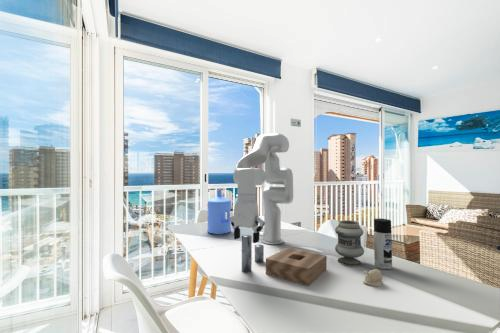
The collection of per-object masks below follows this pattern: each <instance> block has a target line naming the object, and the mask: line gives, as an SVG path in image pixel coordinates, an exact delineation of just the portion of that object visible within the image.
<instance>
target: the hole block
mask: <svg viewBox="0 0 500 333" xmlns="http://www.w3.org/2000/svg"><path fill="white" fill-rule="evenodd" d="M326 271H327V255H325V254H321V253H315V252H312V251H306V250H301V249H296V248H291V247H285V248H284V249H282V250H279V251H278V252H275V253H274V254H272V255H270V256H268V257H266V258H265V274H266V275H269V276H272V277H276V278H279V279H283V280H286V281H290V282H293V283H297V284H300V285H304V286H307V287H309V286H310V285H311V284H313V283H314V282H315V281H316V280H317V279H318V278H319V277H320V276H321V275H323V274H324V273H326Z"/></svg>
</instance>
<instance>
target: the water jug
mask: <svg viewBox="0 0 500 333" xmlns="http://www.w3.org/2000/svg"><path fill="white" fill-rule="evenodd" d="M222 193H223V192H222V189H216V196H214V197H212V198H211V199H209V200H207V204H206V205H207V218H206V219H207V230H206V231H207V233H208V232H209V234H210V233H215V234H214V235H224V234H223V233H226V234H229V233H231V231H232V225H231V222H230V217H231V210H232V202H231V199H228V198H227V197H224V196H223V195H222ZM228 232H229V233H228Z"/></svg>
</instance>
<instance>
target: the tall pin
mask: <svg viewBox="0 0 500 333" xmlns="http://www.w3.org/2000/svg"><path fill="white" fill-rule="evenodd" d="M252 236H253V235H249V234H245V235H244V234H243V235H242V236H241V272H242V273H245V274H247V273H251V272H252V270H253V269H252V259H253V258H252V253H253V252H252V243H253V237H252Z"/></svg>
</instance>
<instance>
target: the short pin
mask: <svg viewBox="0 0 500 333" xmlns="http://www.w3.org/2000/svg"><path fill="white" fill-rule="evenodd" d="M264 248H265V247H264V244H255V245H254V262H255V263H257V264H262V263H265V262H264V260H265V259H264V256H265V255H264V254H265V253H264V252H265V250H264Z"/></svg>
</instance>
